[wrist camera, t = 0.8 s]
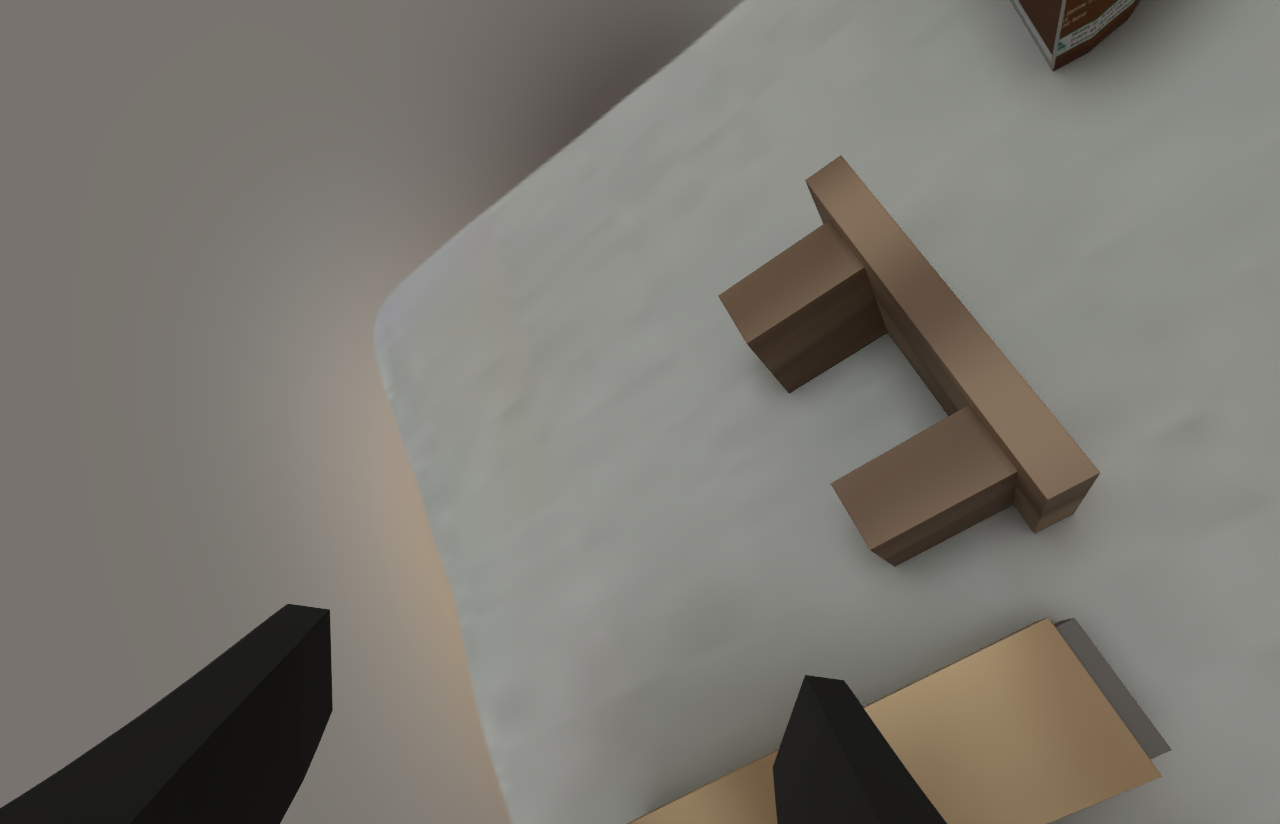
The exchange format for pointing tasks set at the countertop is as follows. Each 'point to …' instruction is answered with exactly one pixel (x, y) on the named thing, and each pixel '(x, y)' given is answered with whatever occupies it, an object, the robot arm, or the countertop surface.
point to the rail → (986, 738)
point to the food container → (1071, 25)
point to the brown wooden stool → (941, 355)
